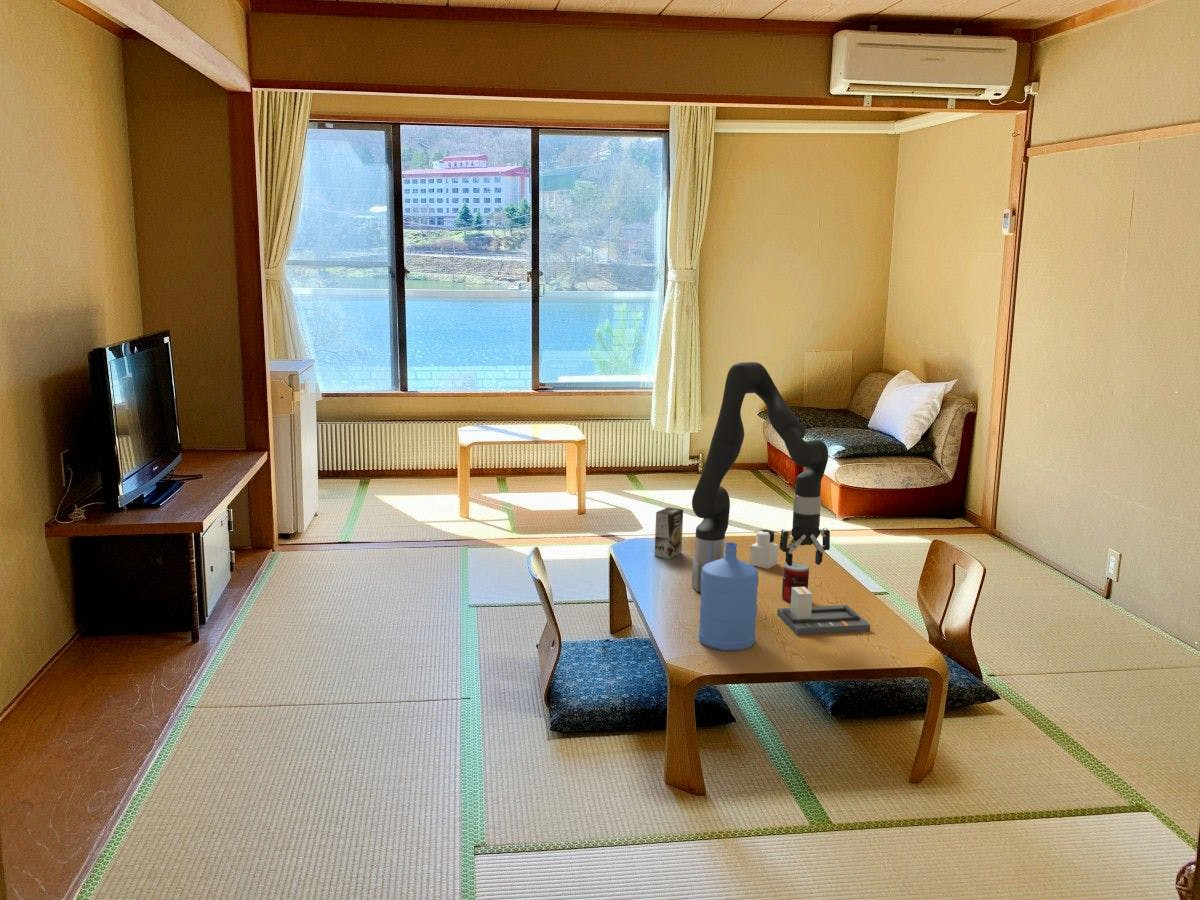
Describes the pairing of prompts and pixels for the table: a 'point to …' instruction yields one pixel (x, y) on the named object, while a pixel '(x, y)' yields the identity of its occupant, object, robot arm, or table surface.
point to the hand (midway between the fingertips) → (803, 564)
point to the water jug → (728, 602)
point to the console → (825, 620)
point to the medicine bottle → (764, 550)
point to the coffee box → (668, 532)
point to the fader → (801, 603)
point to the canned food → (794, 578)
